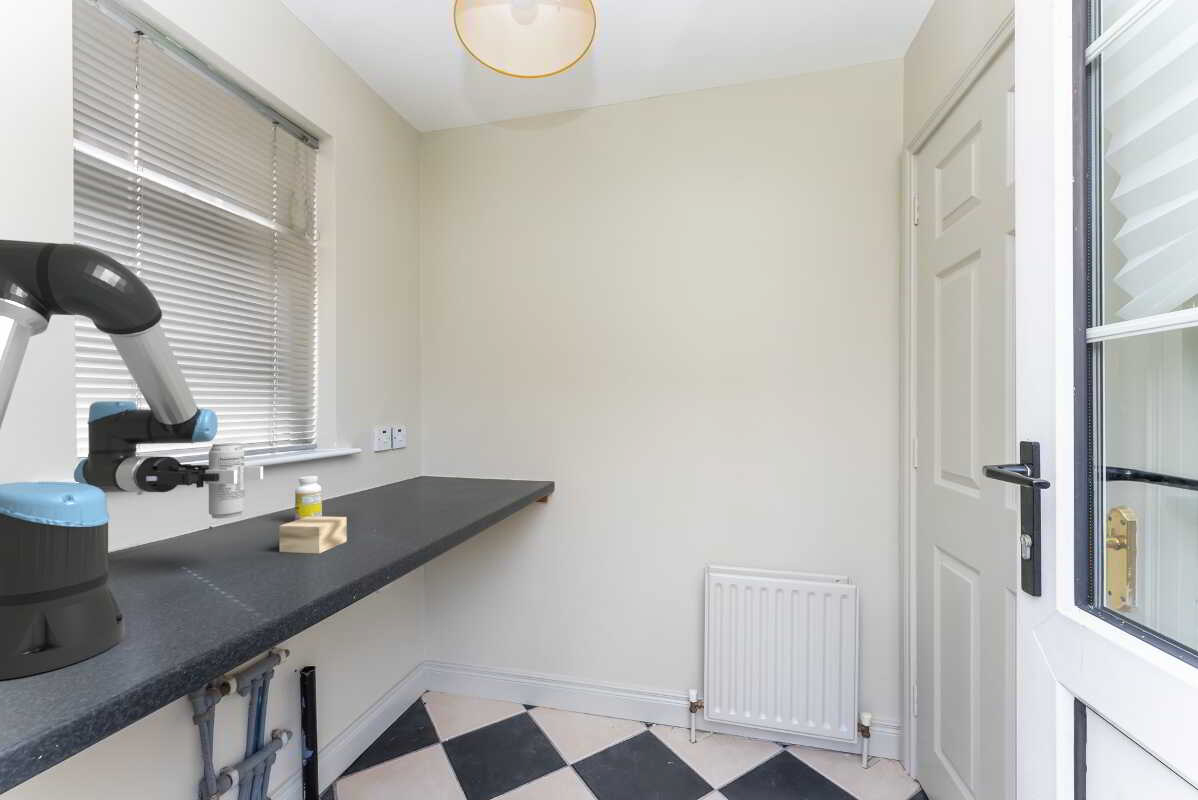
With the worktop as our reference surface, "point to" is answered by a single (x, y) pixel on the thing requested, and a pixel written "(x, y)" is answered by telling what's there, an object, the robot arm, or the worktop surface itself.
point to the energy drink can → (227, 496)
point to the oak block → (312, 534)
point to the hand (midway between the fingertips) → (248, 474)
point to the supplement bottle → (308, 498)
